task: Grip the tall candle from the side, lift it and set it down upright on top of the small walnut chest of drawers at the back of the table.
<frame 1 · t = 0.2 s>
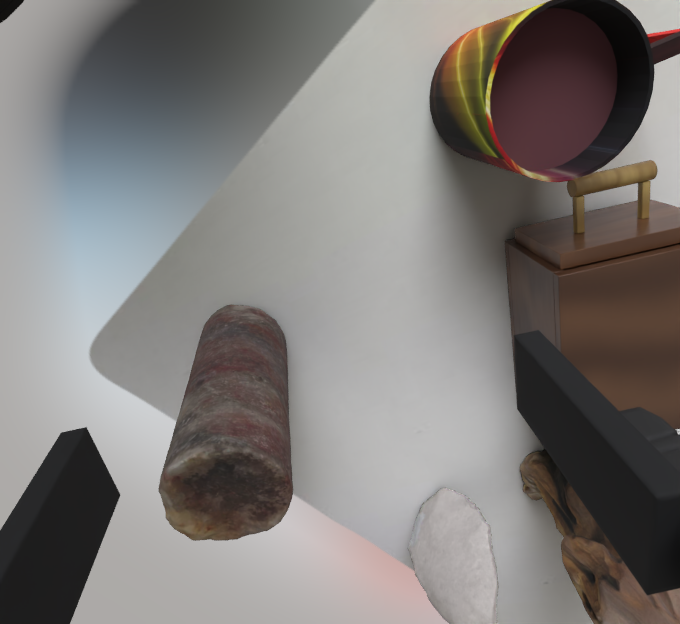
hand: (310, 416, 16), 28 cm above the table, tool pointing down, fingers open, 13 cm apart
candle: (246, 339, 46), on the table
sculpture: (561, 478, 56), on the table
dresser: (577, 306, 47), on the table
stone tool: (433, 500, 55), on the table
dresser drawer: (607, 285, 42), point 5 cm above the table, slide at 0.0 cm
mug: (510, 73, 39), on the table
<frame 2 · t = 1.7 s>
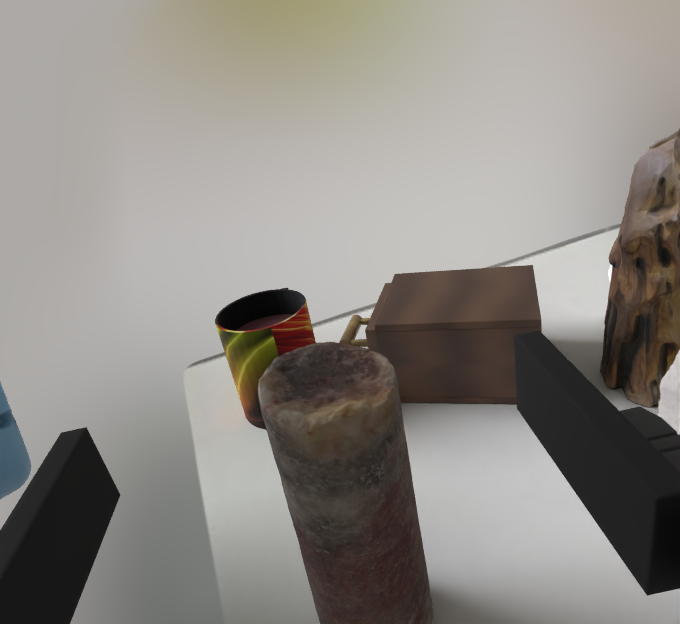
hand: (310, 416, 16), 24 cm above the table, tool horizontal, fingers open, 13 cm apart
sculpture: (671, 381, 51), on the table
dresser: (464, 369, 59), on the table
dresser drawer: (425, 333, 58), point 5 cm above the table, slide at 0.0 cm
mug: (282, 394, 61), on the table
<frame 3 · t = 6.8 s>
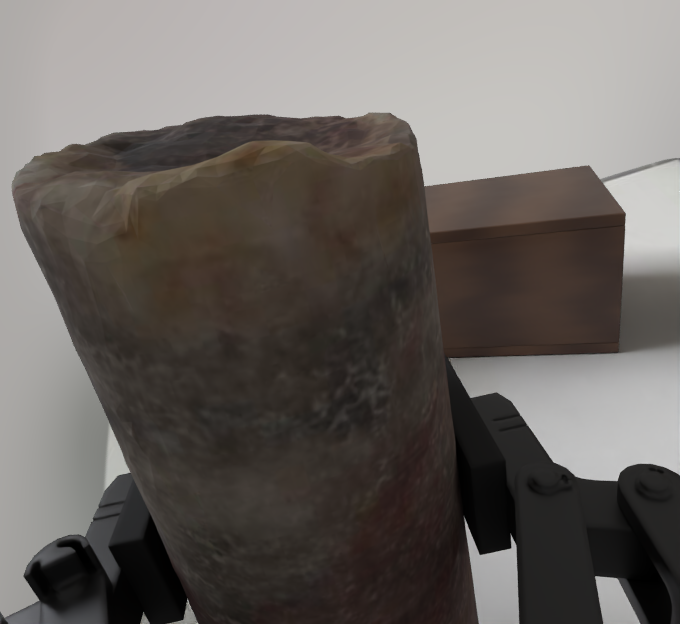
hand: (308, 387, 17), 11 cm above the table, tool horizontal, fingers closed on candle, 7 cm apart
dresser: (494, 314, 42), on the table
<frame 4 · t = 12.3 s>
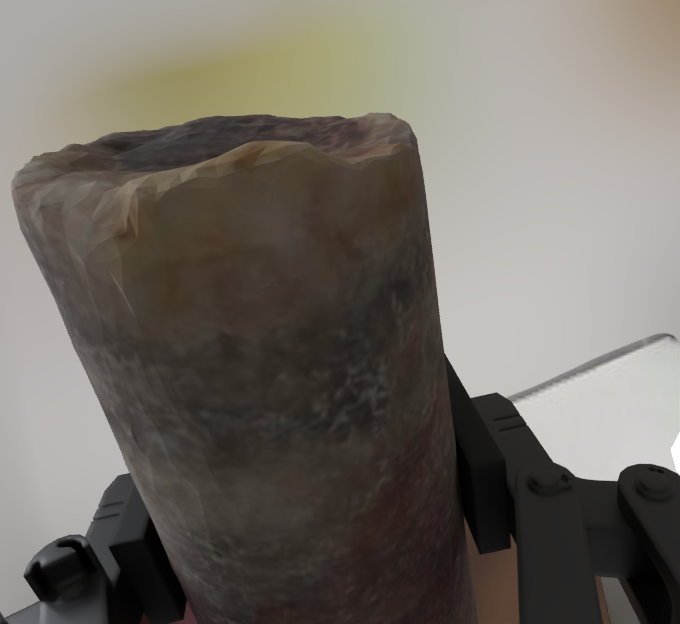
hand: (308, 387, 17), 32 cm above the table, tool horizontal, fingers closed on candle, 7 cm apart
dresser: (483, 623, 41), on the table
when the fingers open (21 cm above the table, at t = 18.0 s): candle stays where it is, resting on dresser.
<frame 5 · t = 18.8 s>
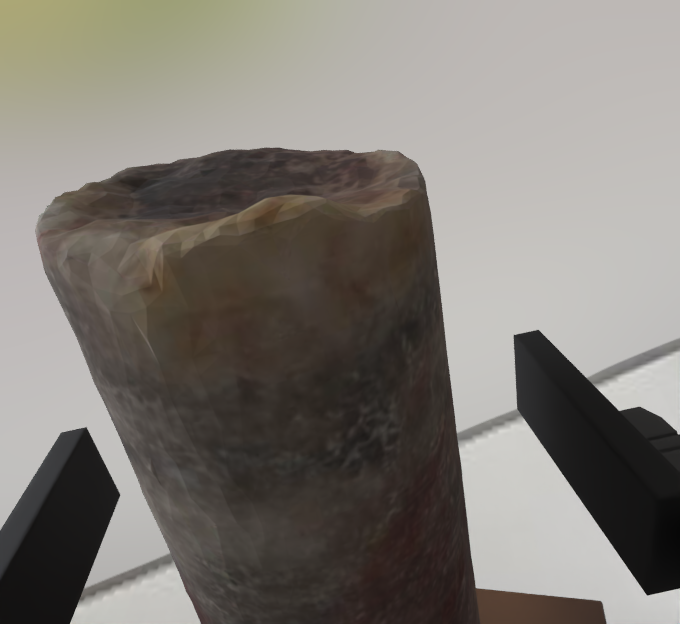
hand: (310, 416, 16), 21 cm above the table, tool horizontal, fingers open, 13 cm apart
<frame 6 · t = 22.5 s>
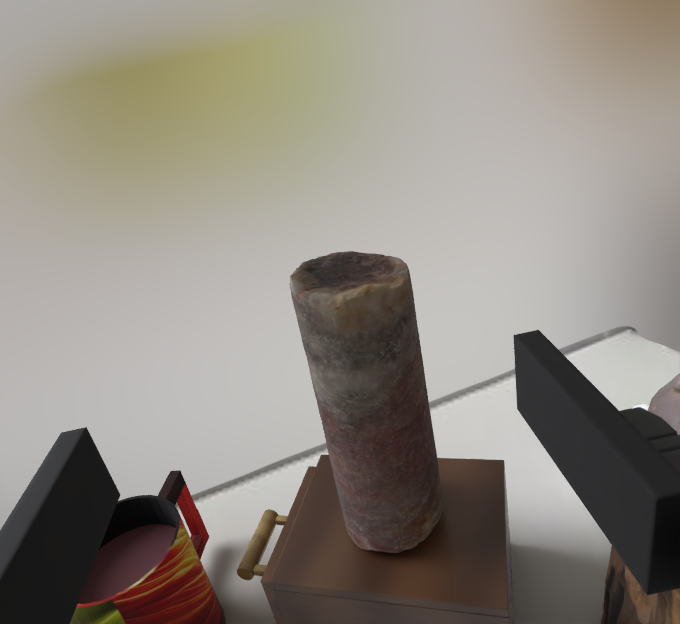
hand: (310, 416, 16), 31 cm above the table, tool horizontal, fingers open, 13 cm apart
candle: (396, 518, 38), point 9 cm above the table, touching dresser
dresser: (412, 600, 42), on the table
dresser drawer: (357, 555, 42), point 5 cm above the table, slide at 0.0 cm
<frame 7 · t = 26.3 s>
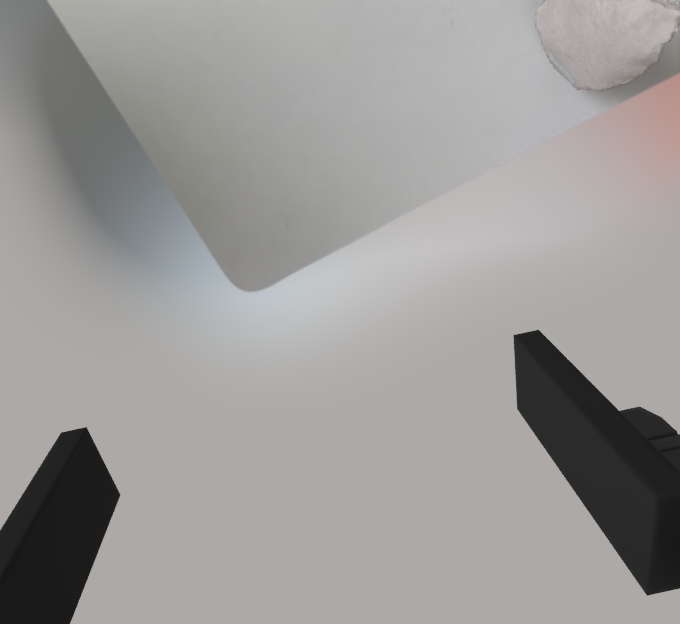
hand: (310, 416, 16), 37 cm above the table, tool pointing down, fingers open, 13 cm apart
stone tool: (550, 38, 46), on the table
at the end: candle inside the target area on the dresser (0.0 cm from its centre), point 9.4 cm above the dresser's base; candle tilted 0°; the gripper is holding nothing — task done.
